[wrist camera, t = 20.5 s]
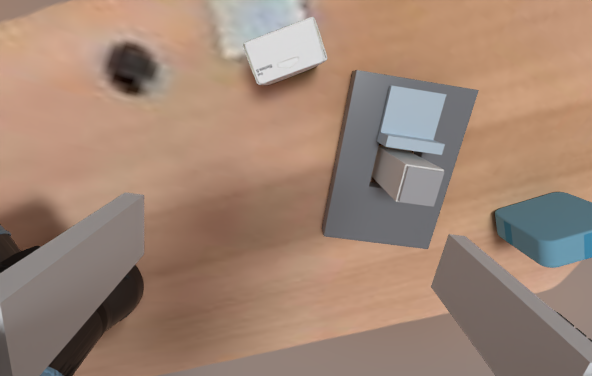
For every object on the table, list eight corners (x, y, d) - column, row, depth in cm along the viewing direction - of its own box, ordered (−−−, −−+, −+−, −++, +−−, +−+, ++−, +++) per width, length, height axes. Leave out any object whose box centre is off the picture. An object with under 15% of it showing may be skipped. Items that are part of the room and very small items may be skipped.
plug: (371, 175, 51) (397, 203, 39) (378, 146, 49) (407, 165, 37) (400, 180, 51) (434, 208, 39) (408, 150, 50) (446, 170, 38)
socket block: (321, 228, 54) (323, 236, 51) (352, 71, 46) (356, 70, 43) (420, 240, 55) (427, 249, 52) (466, 90, 47) (478, 90, 44)
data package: (493, 232, 55) (547, 271, 43) (490, 210, 53) (545, 244, 42) (561, 212, 54) (634, 246, 43) (559, 189, 53) (635, 218, 41)
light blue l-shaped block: (376, 141, 46) (385, 146, 42) (389, 85, 43) (400, 85, 39) (428, 149, 46) (441, 155, 42) (443, 94, 44) (459, 95, 40)
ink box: (308, 31, 44) (315, 12, 33) (318, 66, 45) (329, 60, 34) (252, 53, 45) (240, 42, 33) (264, 87, 46) (257, 87, 35)
